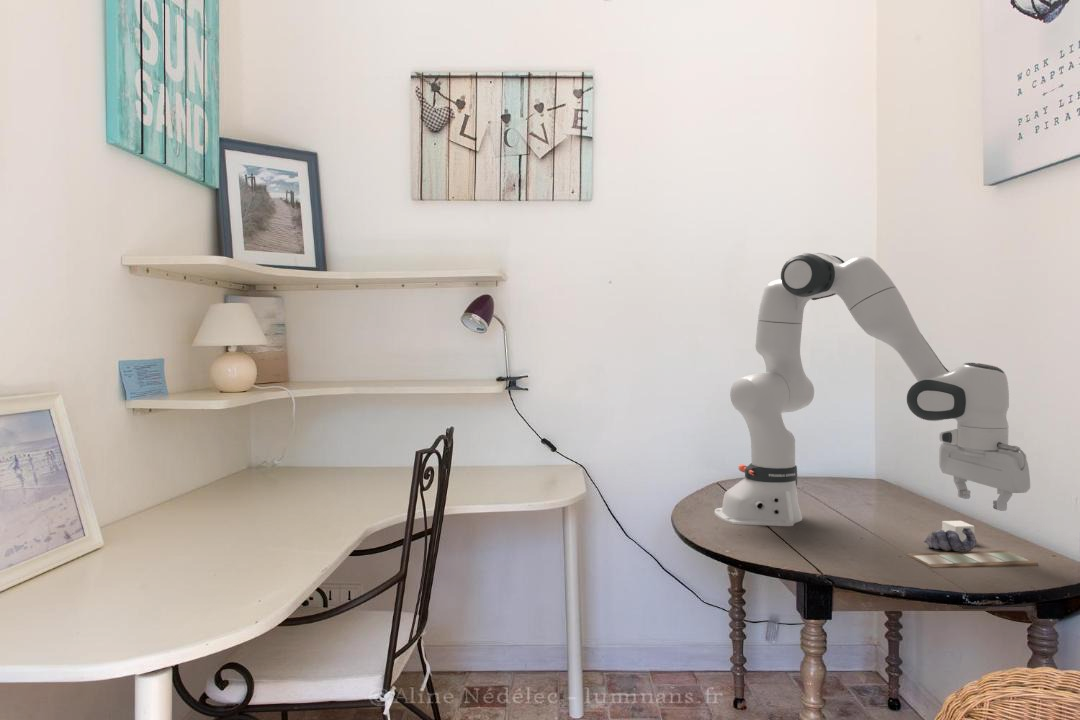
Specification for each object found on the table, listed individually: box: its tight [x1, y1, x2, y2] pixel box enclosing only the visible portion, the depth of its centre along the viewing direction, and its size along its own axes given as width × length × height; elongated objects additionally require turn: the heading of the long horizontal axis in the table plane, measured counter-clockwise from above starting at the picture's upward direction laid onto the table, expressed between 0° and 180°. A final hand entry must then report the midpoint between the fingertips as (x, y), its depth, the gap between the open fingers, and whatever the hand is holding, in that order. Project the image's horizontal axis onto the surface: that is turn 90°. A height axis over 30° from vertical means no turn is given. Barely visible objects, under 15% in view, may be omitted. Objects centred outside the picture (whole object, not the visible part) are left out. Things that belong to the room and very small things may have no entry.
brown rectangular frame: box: [905, 549, 1039, 569], centre depth 130 cm, size 23×8×1 cm, turn 93°
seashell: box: [923, 528, 977, 552], centre depth 136 cm, size 5×5×10 cm
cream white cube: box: [941, 520, 976, 542], centre depth 143 cm, size 4×4×4 cm
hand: (981, 503), depth 130 cm, fingers open, 8 cm apart
